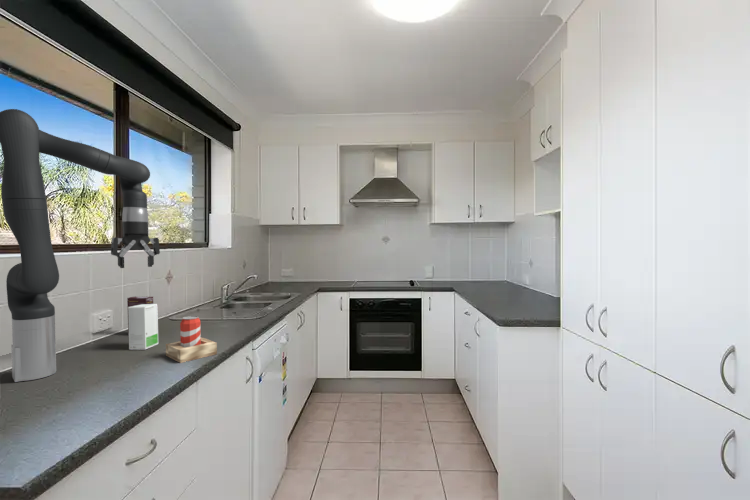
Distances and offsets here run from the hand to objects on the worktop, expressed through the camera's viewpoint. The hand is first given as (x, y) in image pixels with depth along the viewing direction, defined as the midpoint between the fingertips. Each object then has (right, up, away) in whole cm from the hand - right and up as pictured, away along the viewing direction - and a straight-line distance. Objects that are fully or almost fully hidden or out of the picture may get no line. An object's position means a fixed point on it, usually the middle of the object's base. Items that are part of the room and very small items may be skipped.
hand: (136, 267), depth 129 cm
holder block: (+20, -30, -2) cm, 36 cm away
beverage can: (+20, -29, -2) cm, 36 cm away
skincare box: (-3, -30, +8) cm, 31 cm away
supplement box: (-16, -30, +27) cm, 43 cm away
